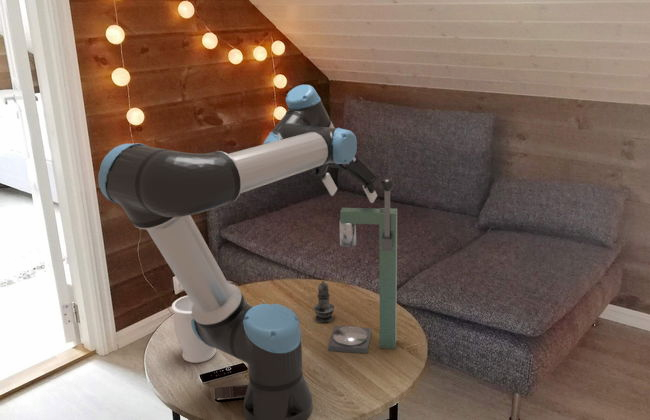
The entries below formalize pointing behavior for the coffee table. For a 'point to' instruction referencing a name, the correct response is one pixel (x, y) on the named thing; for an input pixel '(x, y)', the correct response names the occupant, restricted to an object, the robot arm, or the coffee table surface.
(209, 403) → the coffee table surface
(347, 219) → the arbor press
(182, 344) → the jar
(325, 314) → the dark chess piece
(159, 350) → the coffee table surface
